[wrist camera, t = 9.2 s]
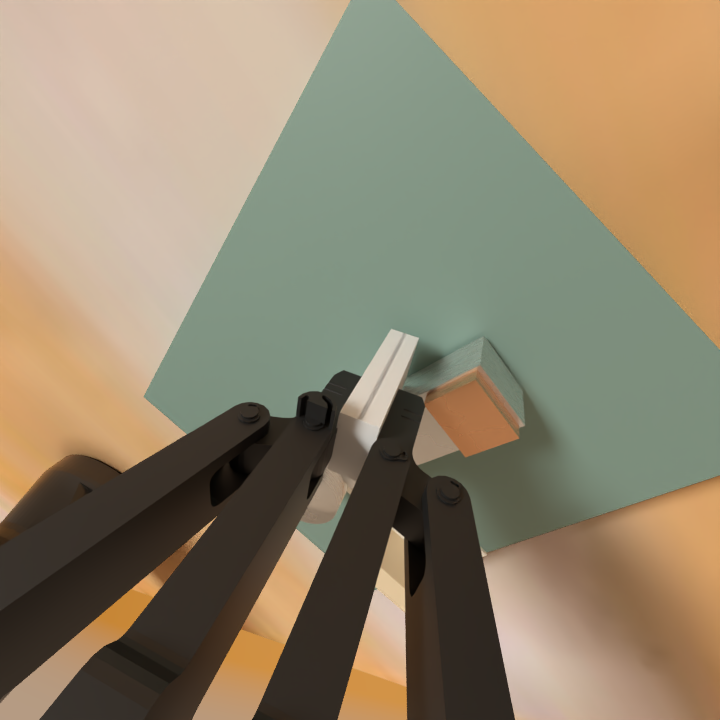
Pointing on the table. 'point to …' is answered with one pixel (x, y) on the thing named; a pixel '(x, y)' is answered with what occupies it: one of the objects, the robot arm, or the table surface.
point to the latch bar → (447, 416)
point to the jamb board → (446, 293)
